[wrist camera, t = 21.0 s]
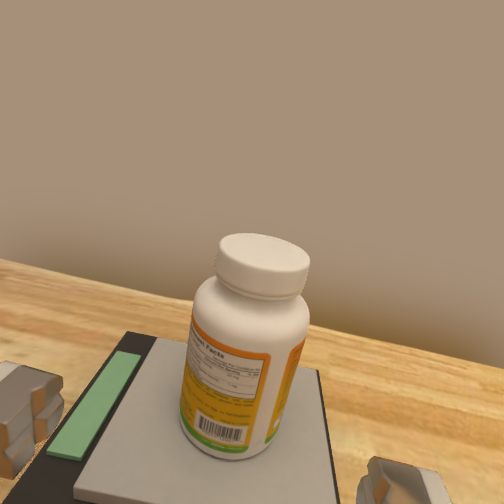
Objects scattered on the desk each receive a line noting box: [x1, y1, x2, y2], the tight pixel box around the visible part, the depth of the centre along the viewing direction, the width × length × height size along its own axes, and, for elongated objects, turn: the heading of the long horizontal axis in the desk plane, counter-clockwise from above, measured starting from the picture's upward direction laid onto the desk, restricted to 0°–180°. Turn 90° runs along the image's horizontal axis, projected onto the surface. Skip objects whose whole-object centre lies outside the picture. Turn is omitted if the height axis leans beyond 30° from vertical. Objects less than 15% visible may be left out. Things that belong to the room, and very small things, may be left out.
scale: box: [2, 331, 340, 504], centre depth 18 cm, size 14×12×3 cm
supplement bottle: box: [179, 233, 310, 460], centre depth 16 cm, size 5×5×10 cm
